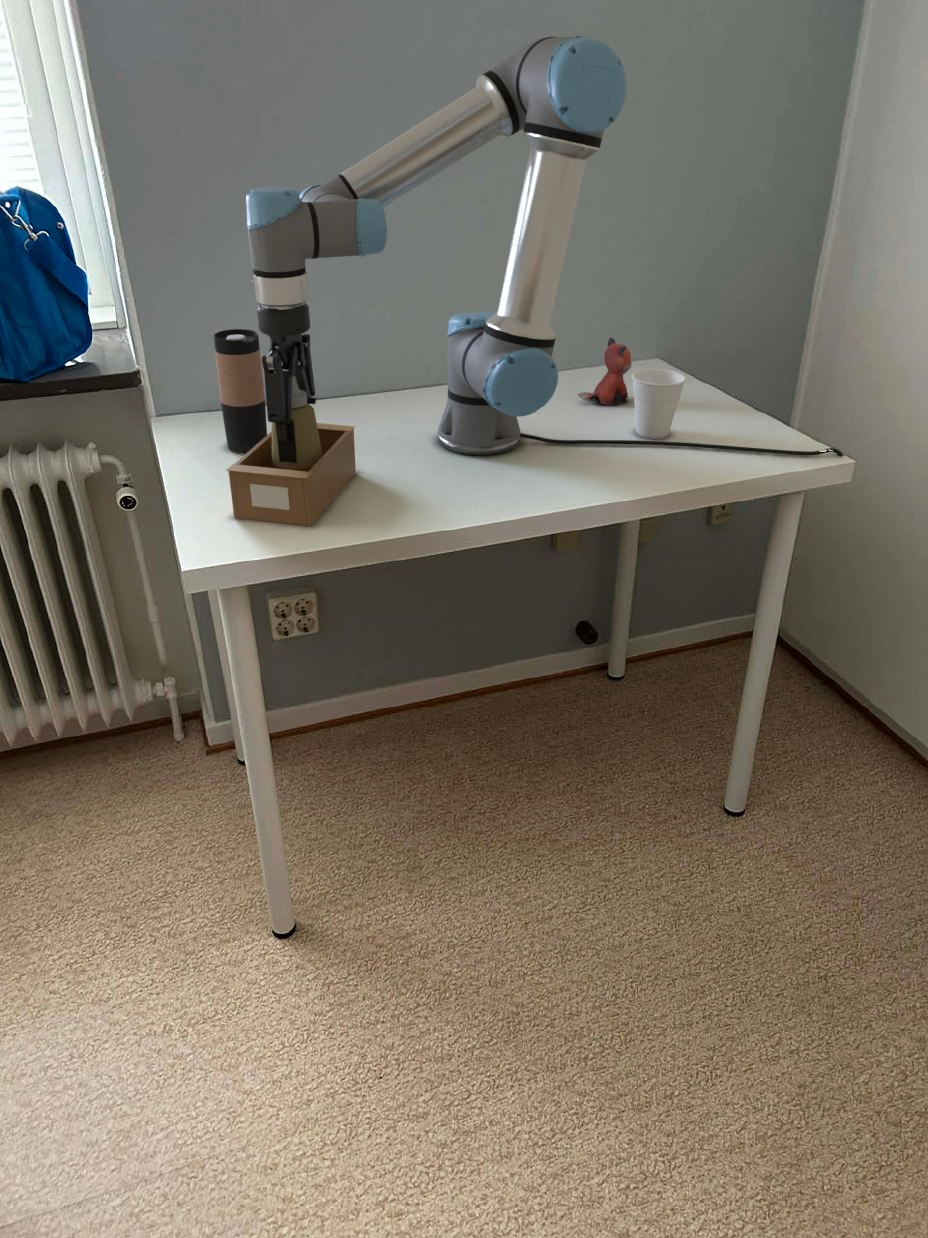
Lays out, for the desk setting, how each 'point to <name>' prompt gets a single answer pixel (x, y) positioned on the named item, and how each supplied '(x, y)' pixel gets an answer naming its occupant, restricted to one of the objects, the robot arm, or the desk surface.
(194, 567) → the desk surface
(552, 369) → the robot arm
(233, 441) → the travel mug
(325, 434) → the wooden box
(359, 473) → the desk surface
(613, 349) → the stuffed fox
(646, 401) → the cup
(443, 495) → the desk surface
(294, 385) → the squeeze bottle
